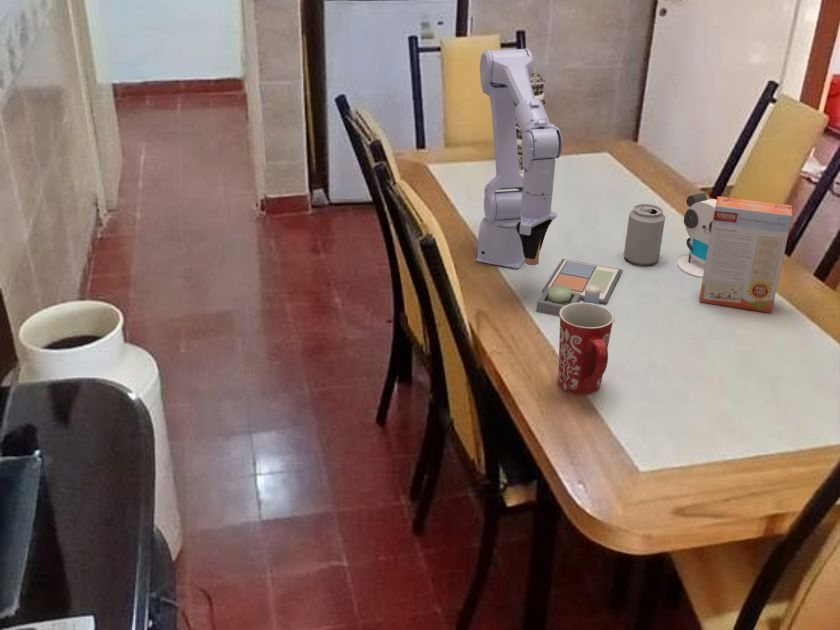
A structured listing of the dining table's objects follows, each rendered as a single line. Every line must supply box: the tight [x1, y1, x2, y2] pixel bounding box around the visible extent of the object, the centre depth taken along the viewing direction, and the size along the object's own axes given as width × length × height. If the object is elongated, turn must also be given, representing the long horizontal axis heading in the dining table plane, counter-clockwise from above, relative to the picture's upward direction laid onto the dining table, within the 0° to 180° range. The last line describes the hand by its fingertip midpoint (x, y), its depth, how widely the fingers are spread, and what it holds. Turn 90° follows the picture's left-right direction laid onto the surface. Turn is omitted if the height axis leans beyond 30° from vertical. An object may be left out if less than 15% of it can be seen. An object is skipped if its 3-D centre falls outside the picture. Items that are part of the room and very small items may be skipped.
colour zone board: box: [542, 258, 623, 306], centre depth 196 cm, size 13×16×1 cm
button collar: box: [535, 287, 581, 316], centre depth 186 cm, size 7×7×2 cm
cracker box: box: [698, 196, 793, 314], centre depth 185 cm, size 14×6×21 cm, turn 71°
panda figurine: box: [676, 192, 717, 279], centre depth 200 cm, size 12×11×15 cm
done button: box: [548, 285, 571, 305], centre depth 185 cm, size 4×4×2 cm
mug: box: [557, 301, 615, 396], centre depth 157 cm, size 13×9×14 cm
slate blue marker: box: [583, 284, 601, 305], centre depth 182 cm, size 3×3×6 cm
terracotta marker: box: [523, 240, 541, 266], centre depth 187 cm, size 3×3×6 cm
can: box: [623, 203, 666, 266], centre depth 203 cm, size 8×8×12 cm
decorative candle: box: [514, 72, 546, 174], centre depth 249 cm, size 9×9×25 cm
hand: (532, 254), depth 187 cm, fingers closed on terracotta marker, 3 cm apart
